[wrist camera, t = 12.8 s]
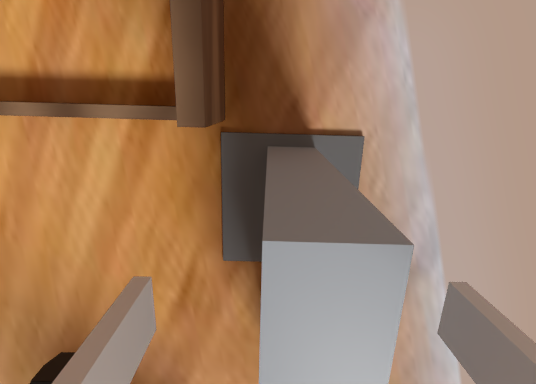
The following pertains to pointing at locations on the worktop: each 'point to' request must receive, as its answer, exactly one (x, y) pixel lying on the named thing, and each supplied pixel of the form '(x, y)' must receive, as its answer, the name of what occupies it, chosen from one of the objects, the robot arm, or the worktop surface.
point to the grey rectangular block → (326, 276)
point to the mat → (254, 181)
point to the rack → (185, 73)
